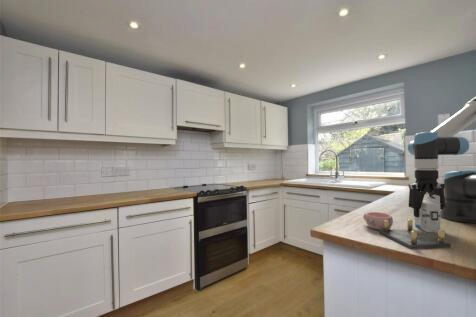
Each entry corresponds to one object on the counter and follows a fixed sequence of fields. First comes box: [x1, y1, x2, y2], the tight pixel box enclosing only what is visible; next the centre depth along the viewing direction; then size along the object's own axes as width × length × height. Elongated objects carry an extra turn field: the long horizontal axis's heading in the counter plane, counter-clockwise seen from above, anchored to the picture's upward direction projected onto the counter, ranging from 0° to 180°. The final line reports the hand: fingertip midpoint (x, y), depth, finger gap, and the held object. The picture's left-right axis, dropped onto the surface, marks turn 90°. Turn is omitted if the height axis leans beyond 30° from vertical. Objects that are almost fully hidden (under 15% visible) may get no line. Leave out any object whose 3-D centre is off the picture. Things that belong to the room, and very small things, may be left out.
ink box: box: [414, 192, 441, 234], centre depth 92 cm, size 9×5×15 cm, turn 168°
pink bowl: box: [362, 211, 394, 231], centre depth 95 cm, size 12×10×6 cm
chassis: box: [378, 219, 452, 249], centre depth 81 cm, size 14×15×5 cm
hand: (427, 224), depth 92 cm, fingers open, 6 cm apart
